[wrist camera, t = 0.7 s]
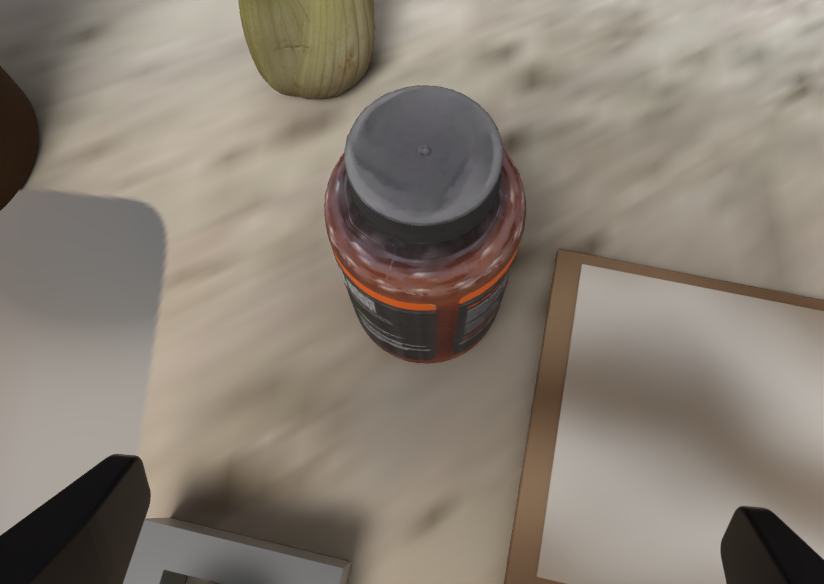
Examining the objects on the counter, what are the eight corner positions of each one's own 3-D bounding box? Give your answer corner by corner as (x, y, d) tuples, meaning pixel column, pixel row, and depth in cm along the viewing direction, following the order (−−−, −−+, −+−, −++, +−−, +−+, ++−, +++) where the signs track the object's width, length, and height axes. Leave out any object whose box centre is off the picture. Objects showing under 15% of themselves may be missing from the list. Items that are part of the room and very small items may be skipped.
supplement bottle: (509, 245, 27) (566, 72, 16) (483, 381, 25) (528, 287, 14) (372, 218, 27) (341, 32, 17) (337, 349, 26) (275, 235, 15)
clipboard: (913, 714, 21) (936, 724, 20) (499, 613, 22) (502, 618, 21) (902, 321, 26) (920, 313, 25) (556, 253, 27) (561, 244, 26)
